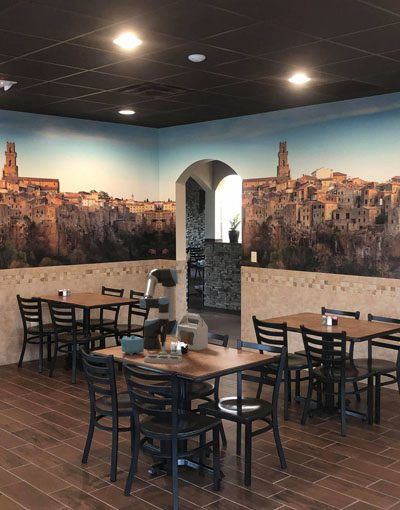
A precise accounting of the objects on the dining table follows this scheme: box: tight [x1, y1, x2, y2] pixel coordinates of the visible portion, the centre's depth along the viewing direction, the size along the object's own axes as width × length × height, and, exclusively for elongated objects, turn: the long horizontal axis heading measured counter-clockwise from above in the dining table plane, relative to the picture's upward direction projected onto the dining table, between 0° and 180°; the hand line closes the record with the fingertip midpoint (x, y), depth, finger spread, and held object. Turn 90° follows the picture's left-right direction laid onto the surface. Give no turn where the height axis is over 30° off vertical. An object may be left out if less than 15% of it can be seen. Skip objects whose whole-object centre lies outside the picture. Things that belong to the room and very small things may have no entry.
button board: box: [143, 354, 183, 365], centre depth 465 cm, size 12×25×3 cm, turn 80°
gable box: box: [177, 311, 209, 351], centre depth 520 cm, size 22×13×28 cm, turn 46°
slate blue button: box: [169, 351, 179, 356], centre depth 464 cm, size 6×6×2 cm
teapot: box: [117, 335, 145, 356], centre depth 490 cm, size 22×11×14 cm, turn 123°
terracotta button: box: [147, 350, 158, 355], centre depth 466 cm, size 6×6×2 cm
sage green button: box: [158, 351, 168, 356], centre depth 465 cm, size 6×6×2 cm
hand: (163, 350), depth 465 cm, fingers closed
